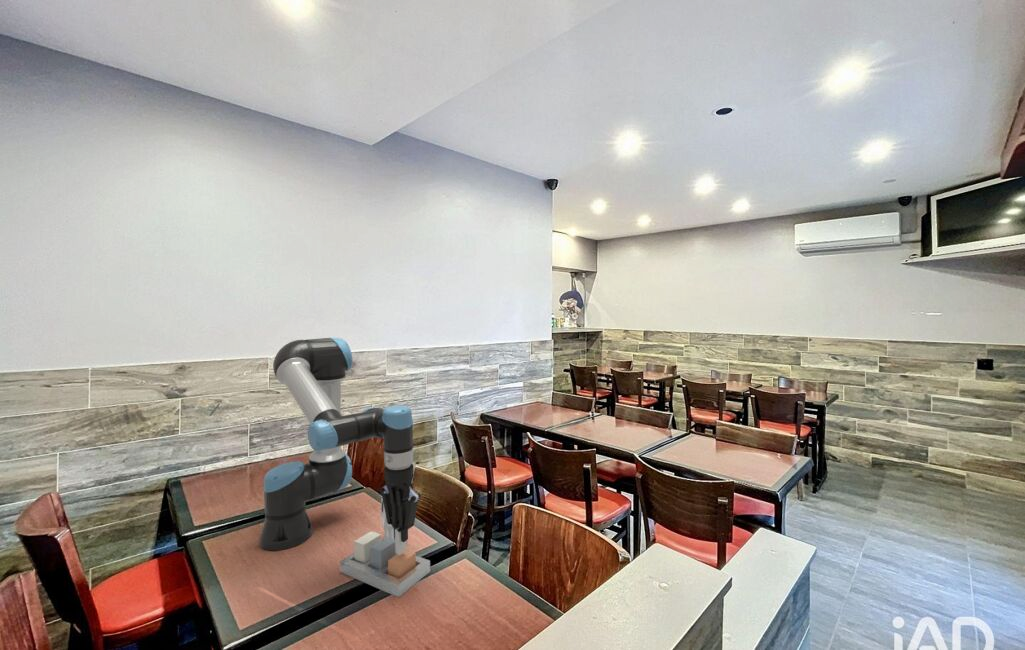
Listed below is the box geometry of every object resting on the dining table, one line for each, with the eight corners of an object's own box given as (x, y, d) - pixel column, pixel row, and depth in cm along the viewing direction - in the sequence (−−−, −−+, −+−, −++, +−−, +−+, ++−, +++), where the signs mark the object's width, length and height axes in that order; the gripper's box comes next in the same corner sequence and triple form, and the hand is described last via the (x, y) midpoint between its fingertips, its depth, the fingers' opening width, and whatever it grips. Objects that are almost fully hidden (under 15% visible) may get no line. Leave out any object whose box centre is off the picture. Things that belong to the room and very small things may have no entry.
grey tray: (340, 575, 118) (340, 561, 118) (374, 553, 128) (374, 540, 128) (398, 600, 107) (397, 585, 107) (430, 574, 117) (429, 560, 117)
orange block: (388, 579, 113) (388, 560, 112) (405, 566, 118) (404, 549, 118) (399, 583, 111) (399, 564, 110) (416, 570, 116) (415, 552, 116)
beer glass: (399, 551, 129) (397, 503, 129) (377, 549, 130) (376, 501, 130) (409, 539, 136) (407, 493, 135) (388, 538, 137) (387, 492, 137)
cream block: (354, 558, 119) (353, 541, 119) (372, 547, 125) (371, 531, 124) (364, 562, 117) (363, 544, 117) (381, 551, 123) (381, 534, 122)
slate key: (371, 565, 116) (370, 547, 116) (388, 553, 121) (387, 536, 121) (381, 569, 114) (380, 551, 114) (398, 557, 119) (397, 540, 119)
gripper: (370, 465, 113) (373, 552, 114) (406, 474, 107) (409, 566, 108) (391, 456, 120) (394, 538, 121) (427, 464, 113) (429, 551, 114)
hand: (401, 551), depth 114 cm, fingers closed
